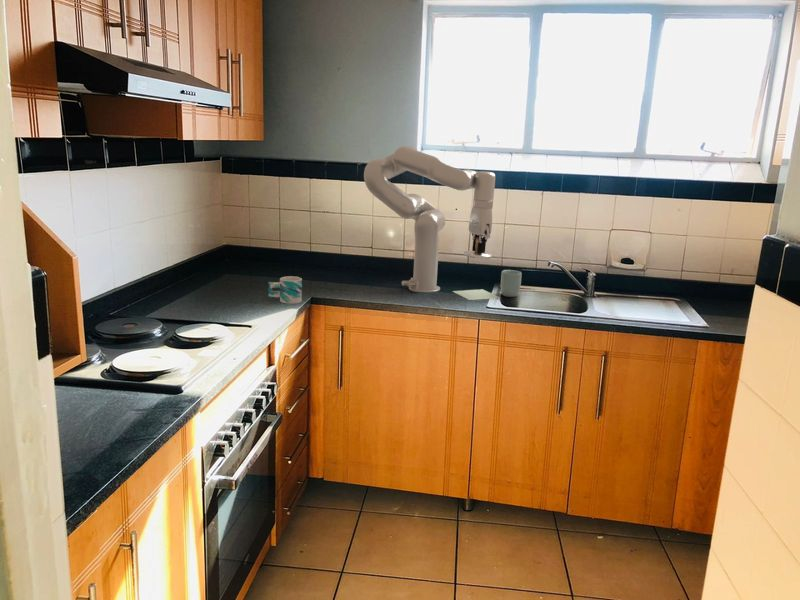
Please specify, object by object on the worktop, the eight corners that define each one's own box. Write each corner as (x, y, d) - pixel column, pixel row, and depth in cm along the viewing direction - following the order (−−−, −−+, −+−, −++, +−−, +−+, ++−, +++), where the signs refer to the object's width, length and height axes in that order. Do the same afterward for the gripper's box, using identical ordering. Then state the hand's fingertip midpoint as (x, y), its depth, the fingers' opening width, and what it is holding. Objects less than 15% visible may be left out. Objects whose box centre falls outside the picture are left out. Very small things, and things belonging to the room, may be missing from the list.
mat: (469, 301, 252) (469, 299, 252) (452, 292, 265) (452, 291, 264) (500, 299, 258) (500, 297, 258) (482, 290, 270) (482, 289, 270)
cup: (520, 299, 259) (523, 274, 256) (501, 298, 259) (503, 273, 257) (517, 294, 267) (520, 270, 264) (498, 293, 267) (500, 269, 264)
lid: (473, 259, 250) (474, 240, 248) (458, 253, 260) (460, 235, 258) (497, 258, 255) (499, 240, 253) (483, 252, 264) (484, 235, 262)
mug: (301, 303, 238) (301, 281, 236) (267, 303, 237) (267, 280, 235) (301, 297, 246) (302, 276, 244) (269, 297, 245) (268, 275, 242)
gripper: (463, 201, 258) (459, 248, 263) (485, 207, 243) (480, 256, 248) (480, 201, 261) (476, 247, 266) (502, 207, 246) (497, 255, 251)
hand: (478, 251), depth 257 cm, fingers closed on lid, 3 cm apart
